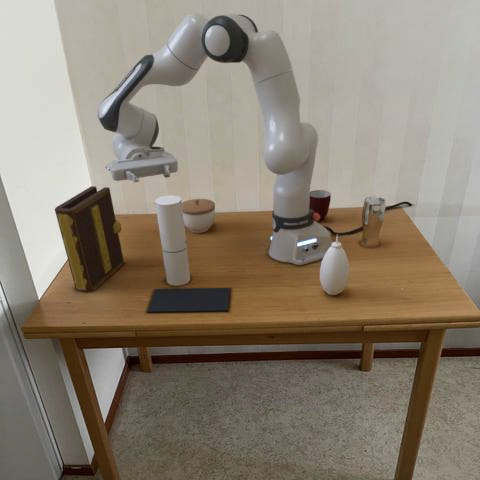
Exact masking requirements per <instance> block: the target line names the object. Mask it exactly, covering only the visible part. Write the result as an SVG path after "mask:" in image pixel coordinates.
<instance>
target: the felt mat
mask: <svg viewBox="0 0 480 480" xmlns="http://www.w3.org/2000/svg"><path fill="white" fill-rule="evenodd" d="M230 293H231V287H194V288H193V287H192V288H190V287H189V288H186V287H185V288H155V289H154V291H153V293H152V296H151V300H150V302H149V306H148V308H147V310H146V312H147V314H166V313H167V314H168V313H169V314H170V313H171V314H172V313H223V312H224V313H227V312H229V306H230V305H229V303H230Z"/></svg>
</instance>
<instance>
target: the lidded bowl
mask: <svg viewBox="0 0 480 480" xmlns="http://www.w3.org/2000/svg"><path fill="white" fill-rule="evenodd" d="M182 210H183V219H184V227H186V228H187V229H188V230H189V231H190V232H192V233H194V234H195V233H196V234H200V233H205V232H207V231H209V230H210V228H211V227H212V225H213V224H214V222H215V217H216V203H215V202H214V201H213V200H211V199H207V198H206V199H205V198H193V199H189V200H185V201H183V202H182Z"/></svg>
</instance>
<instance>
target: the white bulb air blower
mask: <svg viewBox="0 0 480 480" xmlns="http://www.w3.org/2000/svg"><path fill="white" fill-rule="evenodd" d="M342 246H343V245H342V243H341V242H339V235H338V234H337V235H336V237H335V241H333V243H332V244H331V247H330V248H329V249H328V250H327V252H326V254H325V255H324V258H323V259H321V263H320V268H319V281H320V285H321V287H322V289H323V291H324V292H326V293H327V294H328V295H330V296H336V295H338V294H341V293H342V292H343V291H344V290H345V288H346V287H347V284H348V283H349V280H350V264H349V263H350V262H349V258H348V256H347V253H346V251H345V249H344V248H343V247H342Z"/></svg>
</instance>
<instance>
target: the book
mask: <svg viewBox="0 0 480 480" xmlns="http://www.w3.org/2000/svg"><path fill="white" fill-rule="evenodd" d="M97 188H98V187H97V186H94V185H93V186H89V187H88V188H86V189H84V190H83V191H81V192H79V193H77V194H76V195H74V196H73V197H71V198H69V199H67V200H66V201H64V202H63V203H60V204H59V205H57V206H56V207H55V208H54V212H55V216H56V220H57V225H58V227H59V232H60V235H61V238H62V243H63V247H64V250H65V255H66V258H67V262H68V265H69V269H70V273H71V276H72V277H71V278H72V281H73V284H74V287H75V290H76V291H78V292H83V293H92V292H94V291H95V290H97V289H98V288H99V287H100V286H101V285H102V284H104V283H105V281H106V280H108V279H109V278H110V277H111V276H113V274H115V272H116V271H118V270H119V269H120V268H121V267H122V266H123V265H124V264H125V261H124V255H123V250H122V245H121V240H120V235H119V233H121V231H122V224H121V222H120V221H119V220H117V219H116V214H115V209H114V204H113V199H112V194H111V189H110V187H107V186H106V187H105V186H104V187H103V188H101V189H99V190H98V189H97Z"/></svg>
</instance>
